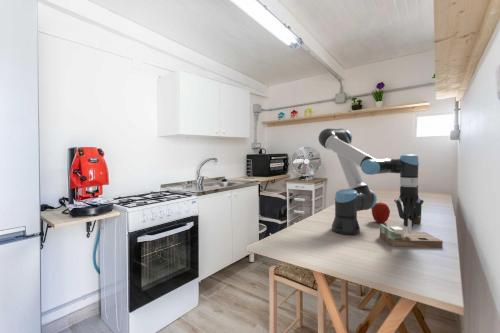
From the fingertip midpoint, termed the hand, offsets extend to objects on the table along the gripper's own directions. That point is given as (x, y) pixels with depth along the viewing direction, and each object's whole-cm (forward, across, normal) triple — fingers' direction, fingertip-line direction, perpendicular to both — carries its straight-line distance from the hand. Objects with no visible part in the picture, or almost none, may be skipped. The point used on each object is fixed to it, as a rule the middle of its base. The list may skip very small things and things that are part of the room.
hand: (408, 232), depth 121 cm
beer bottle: (+5, +22, +35) cm, 41 cm away
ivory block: (+2, -6, 0) cm, 6 cm away
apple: (+5, 0, +33) cm, 34 cm away
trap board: (+5, +1, +1) cm, 5 cm away
